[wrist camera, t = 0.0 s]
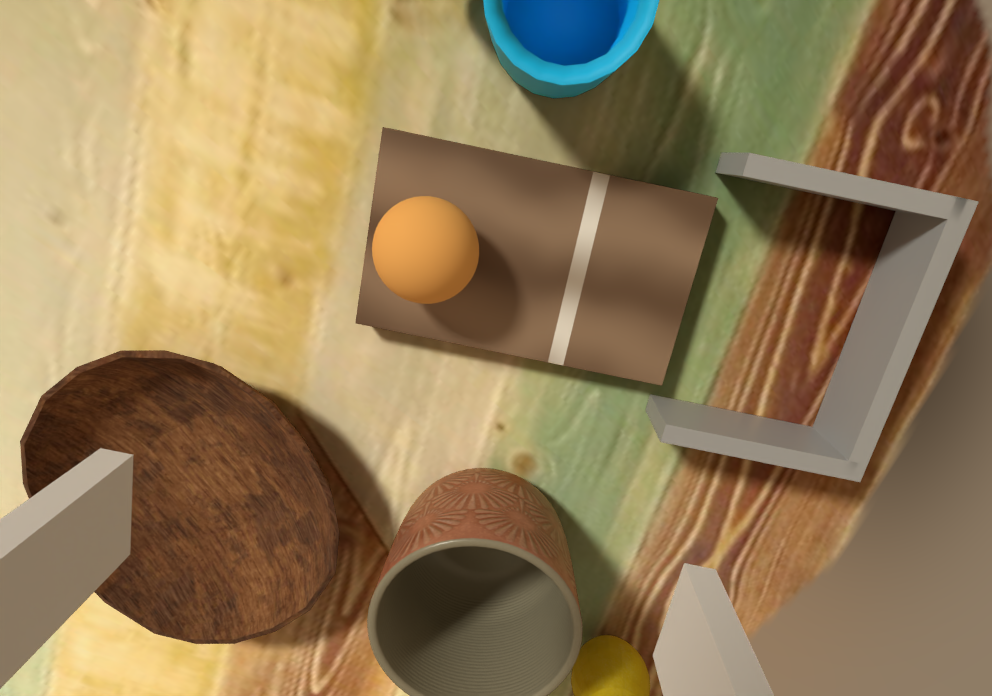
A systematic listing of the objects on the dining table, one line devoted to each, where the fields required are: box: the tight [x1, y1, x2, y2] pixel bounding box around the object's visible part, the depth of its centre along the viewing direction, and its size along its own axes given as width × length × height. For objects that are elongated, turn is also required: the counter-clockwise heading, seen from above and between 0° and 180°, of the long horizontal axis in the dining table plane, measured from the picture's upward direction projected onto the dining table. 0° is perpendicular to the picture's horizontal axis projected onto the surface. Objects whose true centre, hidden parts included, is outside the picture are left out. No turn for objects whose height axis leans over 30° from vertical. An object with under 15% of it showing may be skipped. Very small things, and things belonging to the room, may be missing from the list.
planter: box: [367, 468, 582, 696], centre depth 42 cm, size 12×12×11 cm
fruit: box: [571, 635, 650, 696], centre depth 46 cm, size 6×6×8 cm
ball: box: [372, 196, 479, 304], centre depth 36 cm, size 6×6×6 cm
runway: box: [356, 127, 718, 385], centre depth 40 cm, size 12×20×2 cm, turn 79°
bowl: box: [20, 351, 339, 644], centre depth 44 cm, size 20×22×5 cm
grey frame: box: [646, 153, 978, 482], centre depth 39 cm, size 17×13×5 cm
